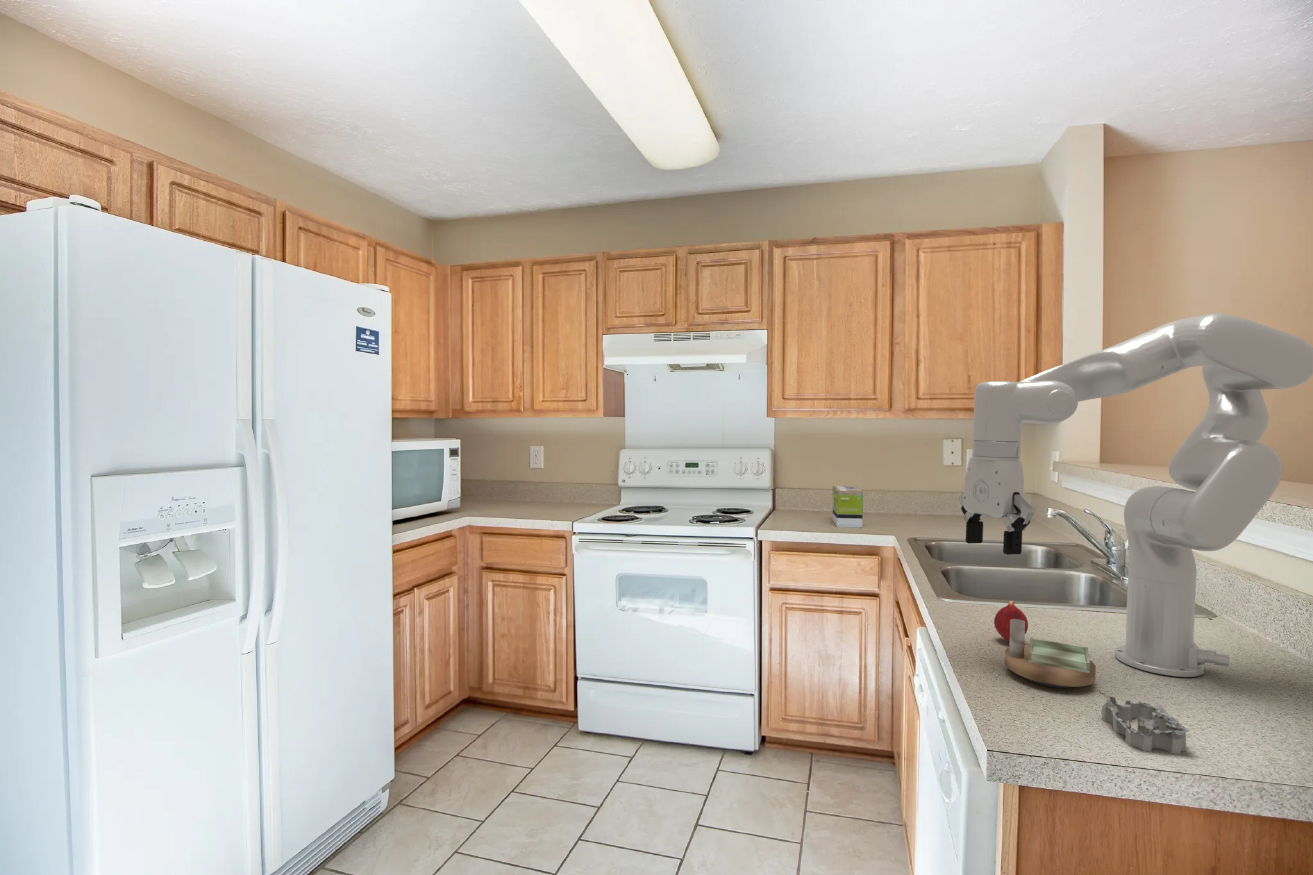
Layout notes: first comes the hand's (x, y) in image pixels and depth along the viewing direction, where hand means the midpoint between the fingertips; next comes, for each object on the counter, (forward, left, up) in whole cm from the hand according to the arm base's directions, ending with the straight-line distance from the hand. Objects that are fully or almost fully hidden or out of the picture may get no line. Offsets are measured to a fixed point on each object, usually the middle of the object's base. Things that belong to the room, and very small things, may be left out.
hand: (992, 548), depth 115 cm
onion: (-3, -13, -21) cm, 25 cm away
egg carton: (-21, +18, -21) cm, 34 cm away
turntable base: (-9, +3, -20) cm, 23 cm away
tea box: (+61, -130, -21) cm, 145 cm away
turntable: (-9, +3, -19) cm, 21 cm away
